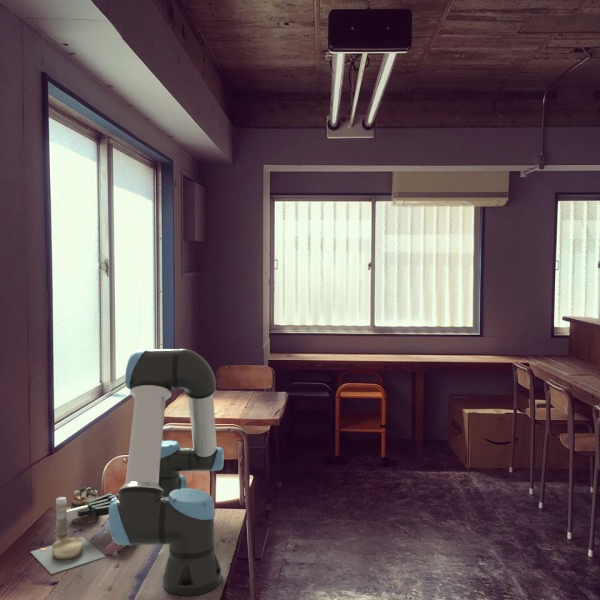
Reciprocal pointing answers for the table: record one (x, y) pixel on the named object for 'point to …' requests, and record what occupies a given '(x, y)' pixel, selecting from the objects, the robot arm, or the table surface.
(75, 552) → the cream oval with post
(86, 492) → the cupcake
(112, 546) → the video game controller
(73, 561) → the base
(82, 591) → the table surface
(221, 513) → the table surface
